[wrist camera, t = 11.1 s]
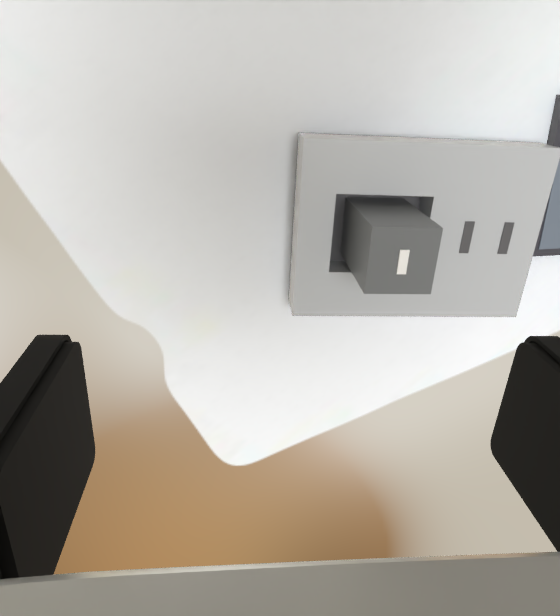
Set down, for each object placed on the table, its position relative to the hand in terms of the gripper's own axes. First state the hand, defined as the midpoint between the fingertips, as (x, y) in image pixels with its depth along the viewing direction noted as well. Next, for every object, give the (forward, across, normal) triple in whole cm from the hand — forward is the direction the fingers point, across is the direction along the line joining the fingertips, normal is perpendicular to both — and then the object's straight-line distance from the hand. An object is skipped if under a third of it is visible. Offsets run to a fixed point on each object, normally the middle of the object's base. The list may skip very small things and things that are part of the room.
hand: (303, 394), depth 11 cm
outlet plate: (+28, -12, +4) cm, 31 cm away
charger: (+28, -9, +4) cm, 29 cm away
